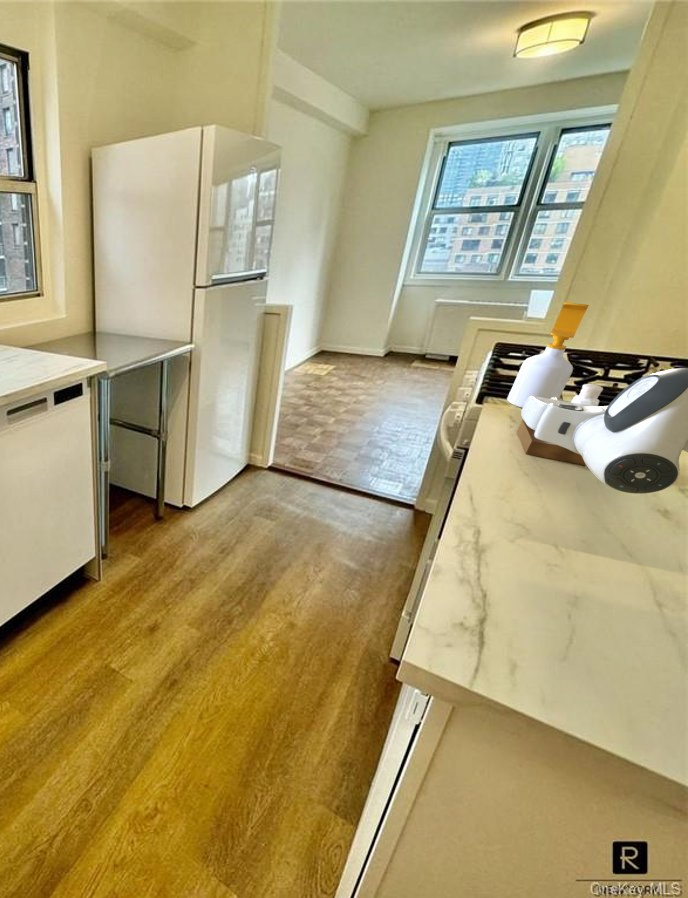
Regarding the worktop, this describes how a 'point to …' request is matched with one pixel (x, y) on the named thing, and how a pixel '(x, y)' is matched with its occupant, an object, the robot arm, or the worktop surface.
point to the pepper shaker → (588, 395)
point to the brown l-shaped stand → (545, 447)
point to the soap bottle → (548, 361)
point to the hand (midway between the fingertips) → (586, 406)
